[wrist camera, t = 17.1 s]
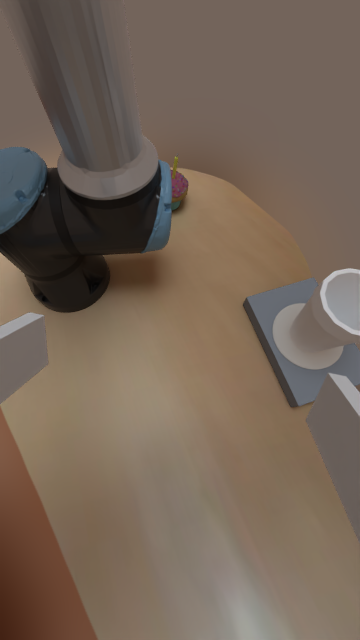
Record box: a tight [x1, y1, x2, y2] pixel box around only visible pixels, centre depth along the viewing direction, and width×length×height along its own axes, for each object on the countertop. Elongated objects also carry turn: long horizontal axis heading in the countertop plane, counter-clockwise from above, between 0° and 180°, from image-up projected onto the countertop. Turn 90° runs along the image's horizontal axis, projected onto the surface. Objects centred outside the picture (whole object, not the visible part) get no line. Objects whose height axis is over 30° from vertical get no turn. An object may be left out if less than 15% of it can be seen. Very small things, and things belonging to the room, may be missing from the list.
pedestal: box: [243, 278, 360, 407], centre depth 43 cm, size 20×14×3 cm
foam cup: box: [289, 268, 360, 353], centre depth 36 cm, size 10×9×13 cm
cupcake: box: [170, 154, 188, 210], centre depth 52 cm, size 9×8×12 cm
